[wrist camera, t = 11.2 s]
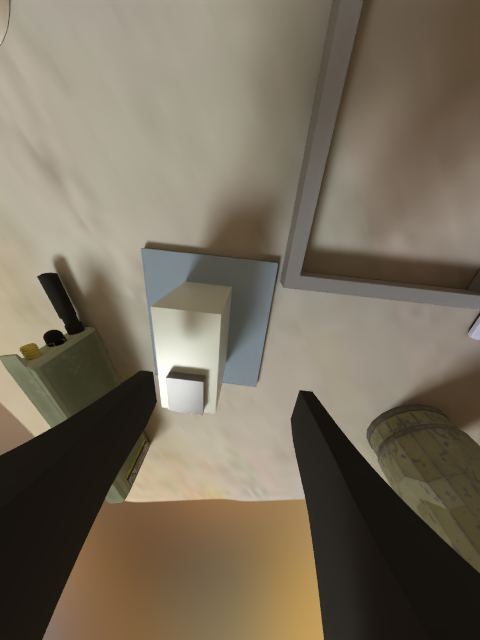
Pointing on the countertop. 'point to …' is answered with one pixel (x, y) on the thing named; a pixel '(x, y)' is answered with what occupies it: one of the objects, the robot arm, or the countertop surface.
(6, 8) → the cylindrical container
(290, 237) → the gray rectangular frame
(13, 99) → the countertop surface
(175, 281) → the rubber mat
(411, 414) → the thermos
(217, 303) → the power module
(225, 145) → the countertop surface
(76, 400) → the handheld radio
